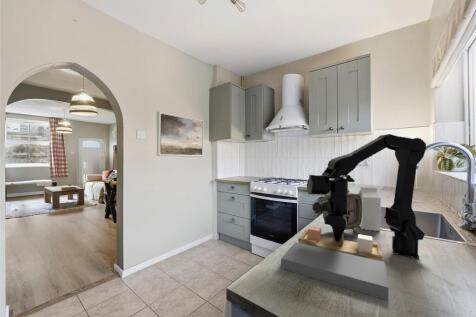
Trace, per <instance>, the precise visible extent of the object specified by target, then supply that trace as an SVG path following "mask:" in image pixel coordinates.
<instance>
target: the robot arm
mask: <svg viewBox="0 0 476 317" xmlns="http://www.w3.org/2000/svg"><path fill="white" fill-rule="evenodd" d="M384 149H388V150H391V151H394V156H395V158H396V161H397V163H398V166H397V167H398V168H397V173H396V174H397V175H396V184H395V189H394V190H395V191H394V199H393V203H392V205H391V206H390V207H388V206H387V207H385V215H384V217H383V219H385V223H386V225H387V226H388V227H389V230H390V232H393V235H392V236H391V248H392V250H393V253H394V254H396V255H399V256H400V255H401V256H405V257H410V258H414V259H420V255H419V241H423V239H424V237H425V236H426V234H425V232H423V230H421V229H420V228H419V227H418V226H417V218H416V217H417V216H416V214H415V212H414V210H413V207H412V206H413V198H414V190H415V182H416V175H417V166H418V164H419V163H420V162H421V161H422V160H423V159H424V157H425V152H426V150H427V143H426V142H425V141H424V140H423V139H422V138H420V137H413V138H411V137H405V136H398V135H394V134H391V133H387V134H381V135H379V136H377V137H376V138H374V139H373V140H371V141H369V142H367V143H366V144H364V145H363V146H360V147H359V148H357V149H355V150H354V151H351V152H349V153H347V154H344V155H341V156H338V157H334V158H331V159H330V160H329V161H328V163H327V167H326V168H325V170H324V171H323V173H322V174H320V175H315V174H309V176H308V179H307V182H306V191H307V194H308V195H318V196H319V195H324V196H325V195H326V194H328V193H330V197H329V198H328V200H326V201H323V200H322V201H319V200H318V201H315V202H314V203H312V205H311V207H312V211H313V212H314V214H317V215H318V214H319V213H323V212H324V211H327V213H329V214H328V215H326V217H325V221H324V224H325V225H327V226H330V227H331V229H332V234H333V233H334V237H335V241H336V242H339V241H340V239H341V237H342V235H343V233H344V234H345V231H346V230H345V228H346V226H347V222H348V220H349V217H348V216H345V215H347V214H348V215H350V208H349V207H348V193H349V192H348V190H349V183H355V181H356V180H355V179H354V178H353V177H352V176H351V175H350V173H351V172H353V171H354V170H355V169H356V168H357V166H358V165H359V164H360V163H361V162H362V163H363V161H365V160H367V159H369V158H371V157H372V156H374V155H376V154H377V153H380V152H381V151H383V150H384ZM340 176H344V177H340ZM332 213H333V214H332Z"/></svg>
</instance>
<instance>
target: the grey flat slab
mask: <svg viewBox="0 0 476 317" xmlns="http://www.w3.org/2000/svg"><path fill="white" fill-rule="evenodd" d="M280 269H282V270H285V271H289V272H292V273H296V274H297V275H298V274H299V275H301V276H305V277H308V278H312V279H315V280H319V281H322V282H324V283H325V282H326V283H328V284H332V285H336V286H339V287H342V288H345V289H349V290H352V291H355V292H359V293H362V294H366V295H369V296H372V297H376V298H379V299H383V300H386V301H389V282H388V275H387V268H386V262H385V261H383V260H382V261H378V260H373V259H369V258H364V257H360V256H355V255H351V254H346V253H342V252H337V251H333V250H328V249H324V248H319V247H314V246H310V245H305V244H301V243H298V242H296V241H294V242H293V244H291V246H290V247H289V248H288V249H287V251H286V252H285V253H284V254H283V255H282V256H281V258H280Z"/></svg>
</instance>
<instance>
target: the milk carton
mask: <svg viewBox="0 0 476 317" xmlns="http://www.w3.org/2000/svg"><path fill="white" fill-rule="evenodd" d="M357 194H358V195H360V196H361V198H362V219H361V224H360V225H361V226H360V227H361V228H360V227H359V228H360V229H361V230H363V229H365V230H364V231H372V230H373V232H374V231H375V232H380V231H381V214H382V213H381V212H382V211H381V210H382V208H381V205H382V204H381V203H382V201H381V200H382V199H381V195H380V193H379V190H378V187H363V186H361V187H360V190H359V192H358V193H357Z"/></svg>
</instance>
